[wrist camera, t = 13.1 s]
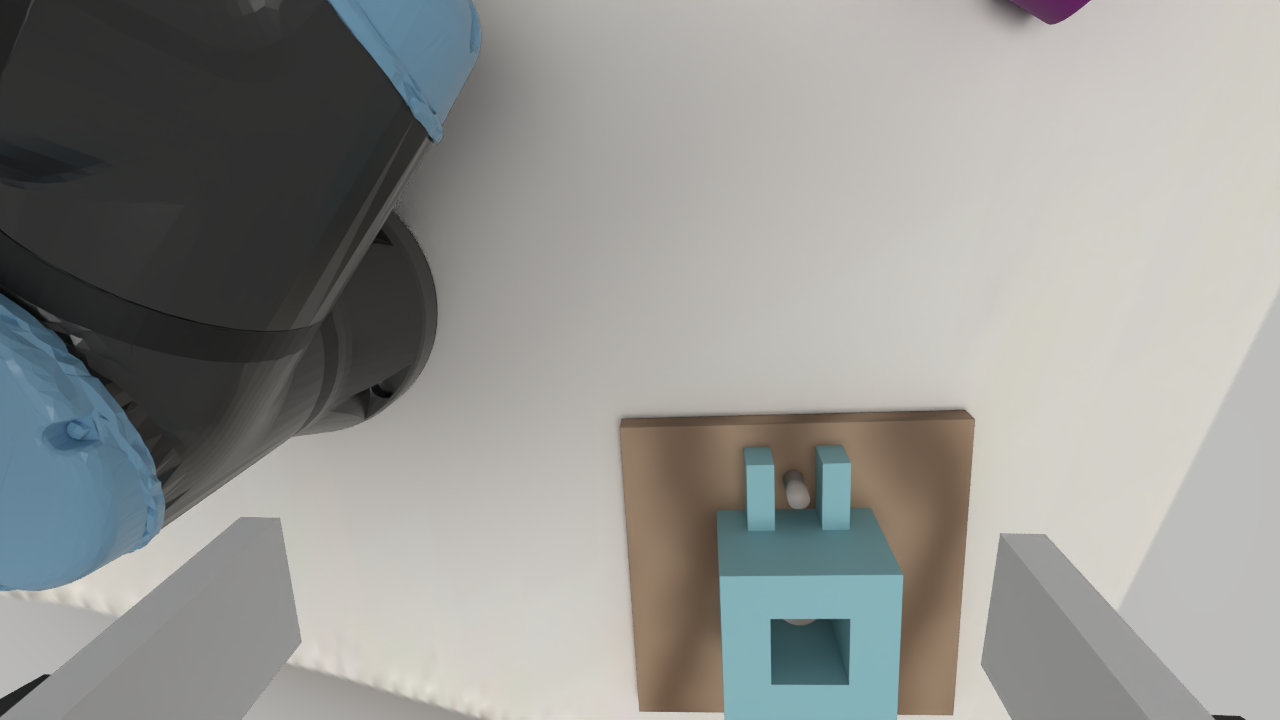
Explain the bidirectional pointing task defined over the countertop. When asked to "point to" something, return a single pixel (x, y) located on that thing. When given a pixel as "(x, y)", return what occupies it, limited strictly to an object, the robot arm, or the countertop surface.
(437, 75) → the robot arm
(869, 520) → the flange block
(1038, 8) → the mounting bracket
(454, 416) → the countertop surface
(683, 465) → the plate
